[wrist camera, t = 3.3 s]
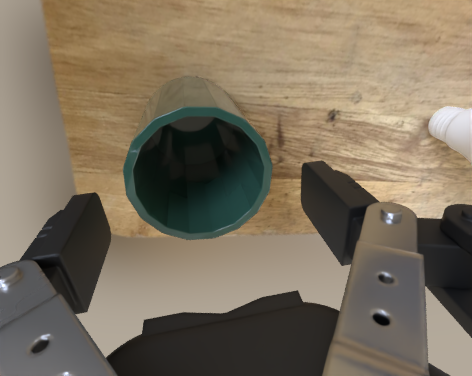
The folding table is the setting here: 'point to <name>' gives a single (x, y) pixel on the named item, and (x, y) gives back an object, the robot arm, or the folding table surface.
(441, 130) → the lightbulb
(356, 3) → the folding table surface
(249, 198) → the cup
